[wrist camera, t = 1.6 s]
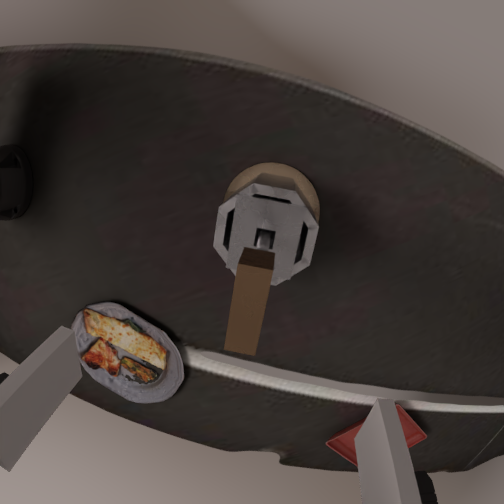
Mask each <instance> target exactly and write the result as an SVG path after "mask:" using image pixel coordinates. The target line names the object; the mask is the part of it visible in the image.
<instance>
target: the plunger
mask: <svg viewBox="0 0 504 504" xmlns="http://www.w3.org/2000/svg"><path fill="white" fill-rule="evenodd" d="M275 233H276V231H272V230H267V229H261V228H257V230H256V236H255V242H254V244H257V245H256V248H254V249H253V248H248V247H244V249H243V252H242V254H241V257H240V259H239V262H238V265H237V271H236V277H235V283H234V290H233V296H232V302H231V308H230V315H229V321H228V327H227V334H226V340H225V346H224V350H229V351H233V352H238V353H243V354H248V355H253V356H255V353H256V349H257V344H258V340H259V335H260V330H261V326H262V321H263V317H264V312H265V308H266V303H267V298H268V293H269V289H270V284H271V279H272V275H273V271H274V265H275V261H274V260H275V253H274V252H269V251H268V250H269V247H273V243H274V238H275Z"/></svg>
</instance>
